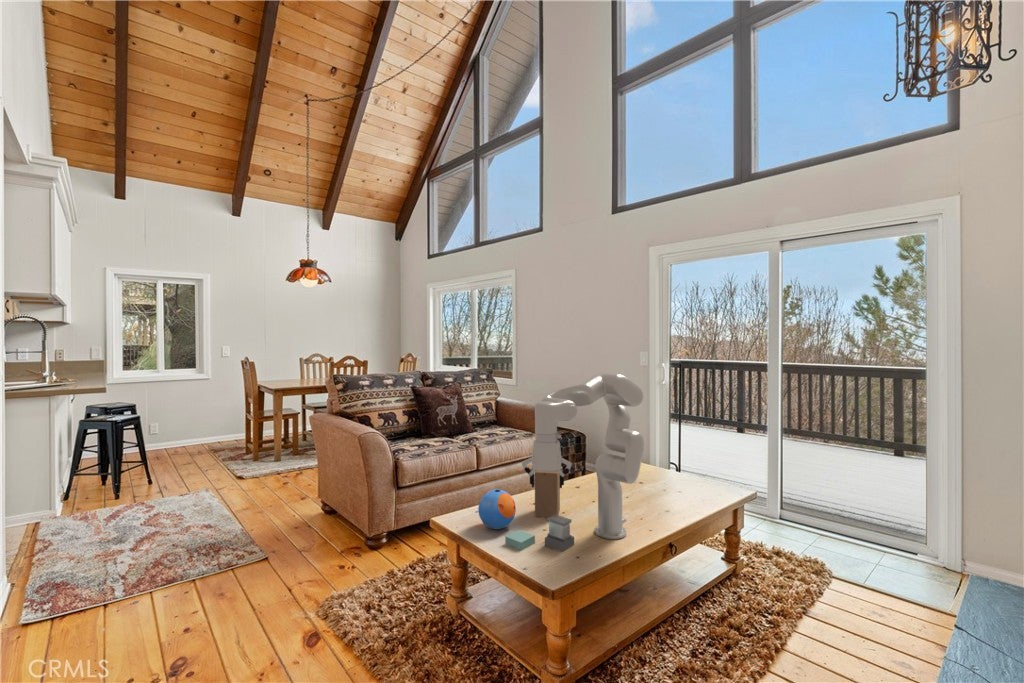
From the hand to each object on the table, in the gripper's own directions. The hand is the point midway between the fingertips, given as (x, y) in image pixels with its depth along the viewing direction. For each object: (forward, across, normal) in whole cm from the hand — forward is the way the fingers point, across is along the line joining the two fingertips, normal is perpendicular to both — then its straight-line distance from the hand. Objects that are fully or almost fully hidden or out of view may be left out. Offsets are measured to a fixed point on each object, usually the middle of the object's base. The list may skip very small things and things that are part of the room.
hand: (546, 486), depth 163 cm
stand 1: (+28, +12, -15) cm, 33 cm away
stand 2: (+28, -4, -16) cm, 32 cm away
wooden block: (+28, +3, -45) cm, 53 cm away
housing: (+25, -4, -16) cm, 29 cm away
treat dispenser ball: (+28, +23, -29) cm, 46 cm away
